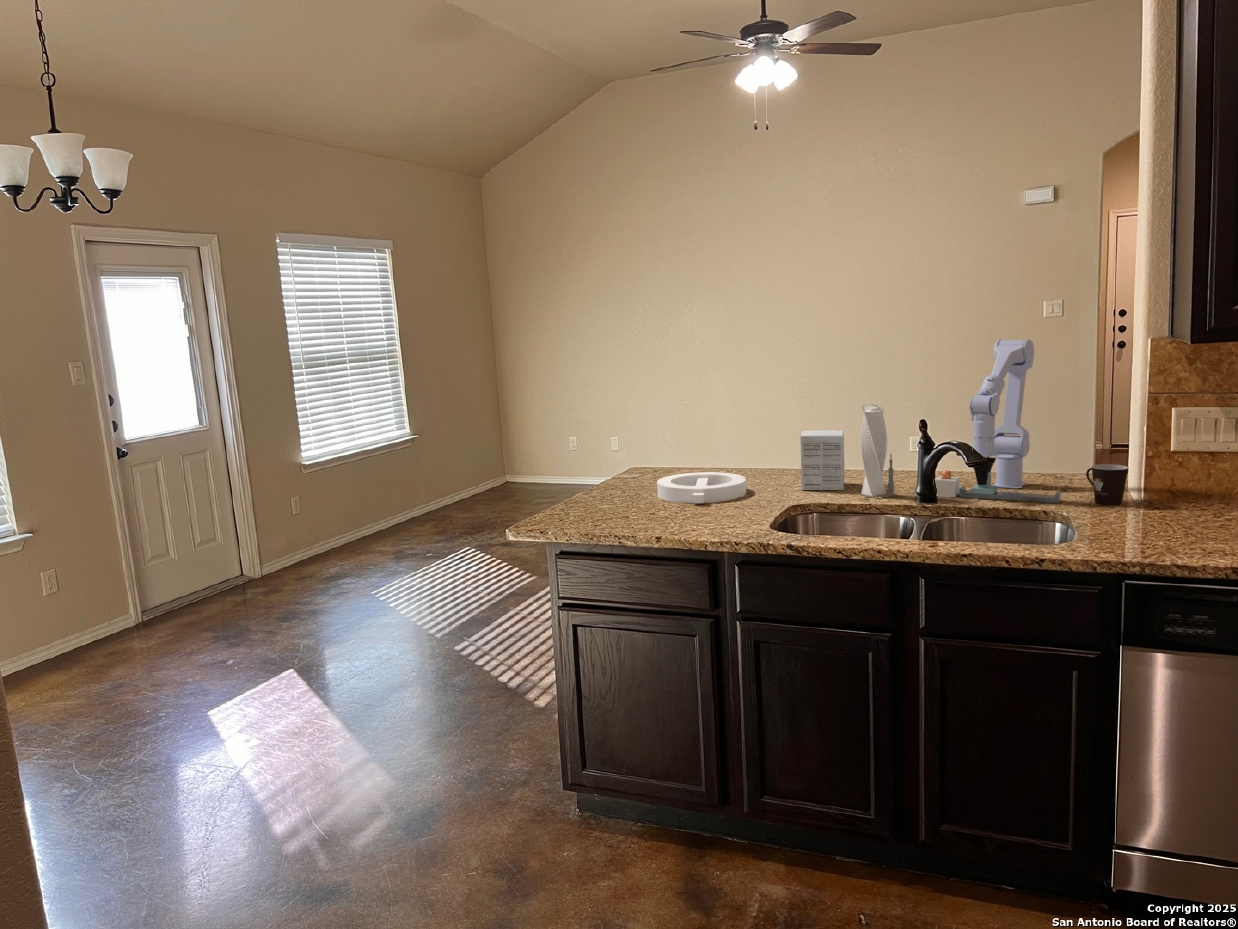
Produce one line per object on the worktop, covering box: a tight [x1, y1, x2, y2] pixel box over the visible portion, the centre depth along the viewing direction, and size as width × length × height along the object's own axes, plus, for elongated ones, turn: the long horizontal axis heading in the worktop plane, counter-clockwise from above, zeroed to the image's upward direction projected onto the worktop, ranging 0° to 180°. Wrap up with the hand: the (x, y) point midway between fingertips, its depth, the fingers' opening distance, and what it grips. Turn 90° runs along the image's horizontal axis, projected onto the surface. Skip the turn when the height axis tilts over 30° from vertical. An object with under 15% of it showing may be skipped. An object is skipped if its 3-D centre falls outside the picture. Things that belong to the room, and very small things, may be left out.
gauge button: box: [941, 469, 952, 479], centre depth 256 cm, size 2×2×2 cm
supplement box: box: [799, 429, 845, 491], centre depth 277 cm, size 13×13×18 cm
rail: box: [958, 486, 1062, 504], centre depth 247 cm, size 4×26×2 cm, turn 57°
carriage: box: [970, 472, 999, 494], centre depth 250 cm, size 6×6×5 cm
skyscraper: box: [860, 402, 896, 498], centre depth 259 cm, size 8×8×28 cm
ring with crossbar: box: [656, 471, 747, 504], centre depth 277 cm, size 28×28×5 cm
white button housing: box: [934, 475, 961, 498], centre depth 256 cm, size 6×6×5 cm
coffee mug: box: [1085, 463, 1129, 506], centre depth 237 cm, size 12×9×10 cm
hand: (982, 483), depth 251 cm, fingers open, 3 cm apart
